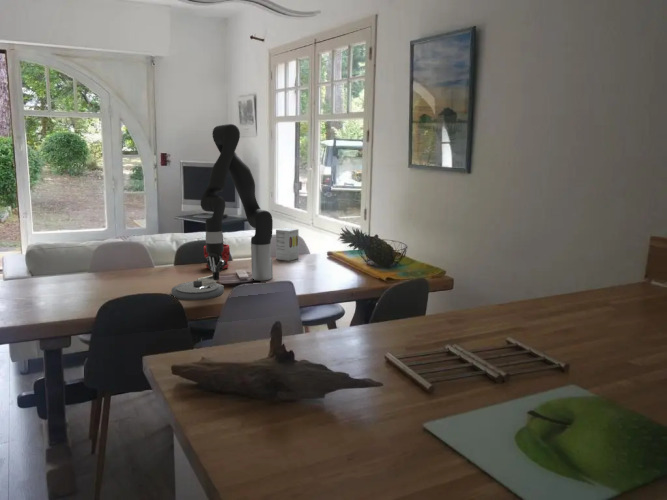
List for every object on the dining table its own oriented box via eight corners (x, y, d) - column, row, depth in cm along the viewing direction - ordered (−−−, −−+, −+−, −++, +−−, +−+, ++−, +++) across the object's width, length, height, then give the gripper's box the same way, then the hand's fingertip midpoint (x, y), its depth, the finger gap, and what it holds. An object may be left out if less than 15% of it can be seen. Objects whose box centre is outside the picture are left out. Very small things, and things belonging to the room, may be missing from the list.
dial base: (203, 283, 263) (203, 279, 263) (234, 292, 249) (233, 287, 249) (161, 293, 247) (161, 288, 247) (191, 302, 233) (191, 297, 232)
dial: (195, 295, 235) (195, 286, 235) (167, 289, 246) (167, 280, 245) (230, 286, 251) (229, 277, 250) (202, 280, 261) (202, 271, 260)
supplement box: (288, 261, 314) (288, 231, 310) (275, 259, 319) (275, 229, 315) (299, 258, 322) (298, 228, 318) (286, 256, 326) (285, 227, 323)
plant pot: (235, 267, 298) (234, 244, 296) (217, 272, 287) (216, 248, 285) (216, 264, 305) (216, 242, 303) (198, 268, 294) (198, 245, 292)
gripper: (230, 242, 247) (232, 280, 251) (213, 238, 256) (214, 276, 260) (215, 244, 242) (217, 283, 245) (198, 240, 251) (200, 278, 254)
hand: (216, 279), depth 252 cm, fingers closed
